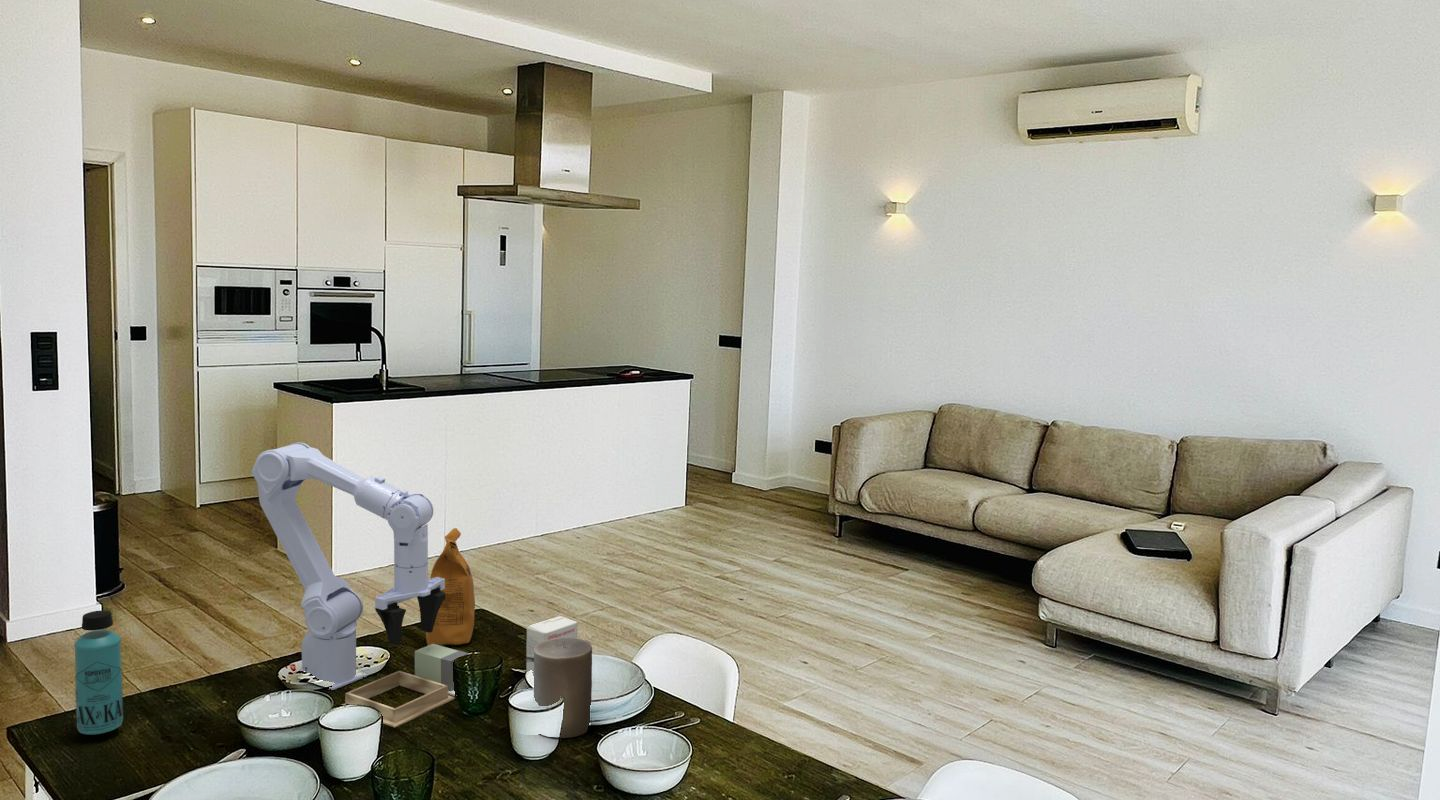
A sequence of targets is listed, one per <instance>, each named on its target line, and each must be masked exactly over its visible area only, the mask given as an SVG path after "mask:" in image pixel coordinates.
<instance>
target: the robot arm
mask: <svg viewBox="0 0 1440 800" xmlns="http://www.w3.org/2000/svg"><path fill="white" fill-rule="evenodd" d="M251 475H252V476H253V478H254V479H255V481H256V484H257V491H258V499H259V505H260V508H262V510H263V513H264V515H265V516H266V519H267V520H268V522H269V524H270V527H271V528H272V530H273V532H274V535H275V536H276V538H277V539H278V541H279V543H280V545H281V547H282V549H283V551H284V552H285V555H286V557H287V558H288V560H289V562H290V564H291V566H292V568H293V569H294V571H295V573H296V576H297V578H298V579H299V581H300V584H301V585H302V587H303V589H304V594H303V596H302V600H301V604H300V606H301V608H302V611H303V613H304V616H305V617H304V620H305V621H304V622H305V625H306V626H305V627H306V628H307V629H308V631H307V632H306V633H305V635H304V636H303V639H302V642H301V671H302V670H303V671H305V672H307V673H310V674H312V675H313V676H315V677H316V678H317V679H319V680H323V681H329V682H334V683H335V684H333V685H331V686H332V687H329V689H328V690H330V689H331V690H330V691H334V690H338V689H339V688H342V687H345V686H346V685H349V684H352V683H354V682H357V681H359V680H362V679H364V678H366V677H367V676H368V673H367V674H365V675H361V676H356V677H355V675H356V670H357V626H358V625H357V624H358V619H360V618H361V617H362V614H363V611H364V603H363V600H362V598H361V596H360V595H359V594H358V593H357V592H356V591H354V590H353V589H352V588H351V587H350V585H349V583H348V581H347V580H345V579H343V578H341V577H339V576H337V575H335V574H334V573H335V572H333V570H332V568H331V566H330V564H329V562H328V560H327V558H326V556H325V554H324V553H323V551H322V549H321V546H320V545H319V543H318V541H317V539H316V538H315V536H314V533H313V532H312V529H311V528H310V526H309V524H308V521H307V519H306V518H305V516H304V514H303V511H302V510H301V508H300V506H299V504H298V503H297V501H296V497H297V495H298V494H299V490H300V487H301V486H302V484H303V483H304V482H305V481H306V480H311V479H314V480H317V481H319V482H322V483H324V484H326V485H329V486H331V487H333V488H335V489H338V490H340V491H342V492H343V493H344V492H345V493H347V494H349V495H351V496H353V499H354V502H355V504H356V506H358V507H360V508H363V509H365V510H366V511H368V512H370V513H372V514H374V515H376V516H378V517H380V518H381V519H384V520H385V521H387V523H388V526H389V527H390V528H391V530H392V531H393V552H394V553H393V577H394V578H393V583H394V585H393V587H392V588H390V589H388V590H387V591H385V592H384V593H382V594H380V595H377V596H375V597H374V603H375V604H374V611H375V612H376V613H377V614H378V616H379V618H380V620H381V622H382V625H383V626H384V629H385V632H386V633H385V634H386V635H387V638H388V643H389V644H390V645H394V646H399V645H401V644H402V643H401V641H402V633H403V632H402V628H403V627H402V626H403V621H404V618H405V613H406V612H407V609H406V608H402V607H400V605H399V604H400V603H402V602H406V601H408V600H411V599H415V598H417V602H418V607H419V614H420V628H421V631H422V632H425V633H426V632H429V633H431V632H432V631H433V627H434V623H435V620H436V616H437V613H438V611H439V608H440V606H441V604H442V603H443V601H444V599H445V593H444V592H441V591H440V590H443V589H445V579H443V578H439V577H436V578H432V579H430V578H429V575H428V574H429V567H428V565H429V554H428V553H429V550H428V549H429V546H428V545H429V540H428V539H429V538H428V537H429V535H428V534H429V533H428V532H429V531H428V530H429V528H428V526H429V525H428V523H429V522H431V520H432V518H433V516H434V506H433V504H432V502H431V500H430V499H429V498H428V497H426V496H425V495H424V494H423V493H417V492H415V493H412V494H410V493H409V491H408V490H406V489H400V488H398V487H396V486H394V485H391V484H390V483H388V482H386V478H385V477H383V476H381V475H379V476H377V477H376V476H373V475H372V476H369V477H366V478H364V477H361V476H360V475H358V474H356V473H355V472H352V471H351V470H349V469H348V468H346V467H344V466H343V465H341V464H339V463H338V462H336V461H334V460H332V459H331V458H329V457H327V456H326V455H324V454H323V453H322V452H321V451H320V450H319V449H318V448H315V447H313V446H312V447H311V446H309V445H308V444H307V443H304V442H298V441H297V442H294V443H290V444H289V445H285V446H281V447H278V448H274V449H268V450H264V451H262V452H260V454H259V455H258V456H257V457H256V460H255V462H254V465H253V468H252V470H251ZM366 675H367V676H366ZM363 677H364V678H363Z"/></svg>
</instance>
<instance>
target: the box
mask: <svg viewBox="0 0 1440 800" xmlns="http://www.w3.org/2000/svg"><path fill="white" fill-rule="evenodd" d="M468 654H469V655H470V653H469V652H466V651H462V650H457V649H453V648H449V647H446V646H444V645H441V646H440V645H436V644H431V645H428V644H427V645H426V646H424V647H421V648H418V649H417V650H415V651H414V675H415V676H418V677H421V678H425V679H428V680H431V681H434V682H437V683H440V684H444V685H447V686H448V691H453V690H454V682H453V662H454V660H455V659H456V658H458V657H460V656H464V655H468Z"/></svg>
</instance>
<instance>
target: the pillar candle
mask: <svg viewBox="0 0 1440 800" xmlns="http://www.w3.org/2000/svg"><path fill="white" fill-rule="evenodd" d="M592 676H593V646H592V643H590V642H589V641H587V640H584V639H581V638H577V639H576V638H556V639H555V638H554V639H550V640H546V641H544V642H542V643H539V644H538V645H536V646H535V648H534V691H533V699H534V698H535V701H536V702H537V703H538V705H539V706H549V705H552V704H554V703H556V702H558V701H559V700H560V698H561V697H562V698H563V701H564V709H563V721H562V729H561V735H560V738H559V739H565V738H568V739H569V738H574V737H579V736H582V735H584V734H585V733H588V731H587V730H588V725H589V723H590V705H591V702H592V699H593V698H592V690H593V688H592V687H593V677H592ZM560 696H561V697H560Z"/></svg>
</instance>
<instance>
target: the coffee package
mask: <svg viewBox="0 0 1440 800" xmlns="http://www.w3.org/2000/svg"><path fill="white" fill-rule="evenodd" d="M461 534H462V533H461V531H459V529H458V528H456V527H455V528H454V527H453V528H452V529H451V530H450V532H448V533H447V534H446V535H445V536H444V539H445V546H444V548H443V550H442V552H441V553H440V554H439V556H438V558H437V559H436V560H435V562H434V565H433V567H432V569H431V573H430V578H429V579H432V578H436V577H439V578H443V579H445V589H443V590H440V591H441V592H444V593H445V599H444V601H443V603H442V604H441V606H440V608H439V611H438V613H437V616H436V620H435V623H434V627H433V631H432V632H431V633H429V632H425V638H426V639H425V640H426V644H427V646H428V645H431V644H436V645H440V646H448V645H456V646H457V645H462V644H468V643H470V641H471V639H472V636H473V631H474V627H475V614H476V613H475V611H476V602H475V601H476V600H475V586H474V578H473V574H472V572H471V569H470V566H469V564H468V562H467V561H466V559H465V558H464V556H463V555H462V554H461V553H460V550H459V547H458V545H457V542H456V541H458V539H459V538H460V537H461V536H462V535H461Z"/></svg>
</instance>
